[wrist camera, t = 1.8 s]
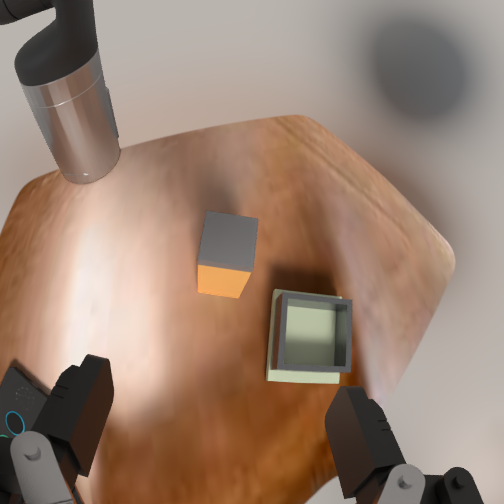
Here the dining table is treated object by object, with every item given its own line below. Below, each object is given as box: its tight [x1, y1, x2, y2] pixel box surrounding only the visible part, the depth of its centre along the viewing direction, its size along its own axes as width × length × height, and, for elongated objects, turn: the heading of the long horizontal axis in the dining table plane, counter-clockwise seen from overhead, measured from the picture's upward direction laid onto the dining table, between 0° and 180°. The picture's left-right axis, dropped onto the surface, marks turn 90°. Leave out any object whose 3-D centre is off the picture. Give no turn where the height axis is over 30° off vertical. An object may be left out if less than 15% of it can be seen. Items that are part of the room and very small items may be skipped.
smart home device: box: [0, 367, 48, 504], centre depth 21 cm, size 8×2×20 cm
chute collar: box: [270, 292, 352, 373], centre depth 31 cm, size 8×8×3 cm
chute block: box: [198, 211, 258, 298], centre depth 30 cm, size 4×4×10 cm
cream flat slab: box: [265, 289, 342, 383], centre depth 33 cm, size 10×8×1 cm
